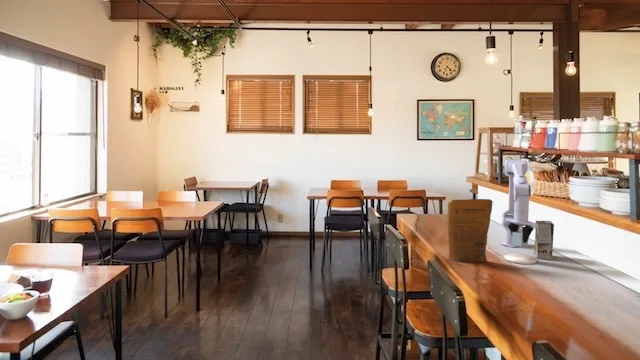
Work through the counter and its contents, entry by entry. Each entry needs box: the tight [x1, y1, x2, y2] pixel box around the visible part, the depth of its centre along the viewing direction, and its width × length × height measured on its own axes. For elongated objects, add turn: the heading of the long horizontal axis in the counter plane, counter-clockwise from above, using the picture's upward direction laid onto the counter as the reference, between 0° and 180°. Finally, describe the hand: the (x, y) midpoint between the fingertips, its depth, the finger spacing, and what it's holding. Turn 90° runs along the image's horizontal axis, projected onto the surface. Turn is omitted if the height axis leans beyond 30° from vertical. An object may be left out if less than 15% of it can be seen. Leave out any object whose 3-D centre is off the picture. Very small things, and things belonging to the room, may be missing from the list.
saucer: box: [503, 253, 537, 265], centre depth 187 cm, size 13×13×1 cm
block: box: [512, 231, 529, 247], centre depth 186 cm, size 4×4×6 cm
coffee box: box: [533, 220, 555, 261], centre depth 192 cm, size 9×6×16 cm
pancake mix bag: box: [446, 198, 494, 263], centre depth 185 cm, size 7×19×28 cm, turn 81°
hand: (520, 241), depth 187 cm, fingers closed on block, 4 cm apart
